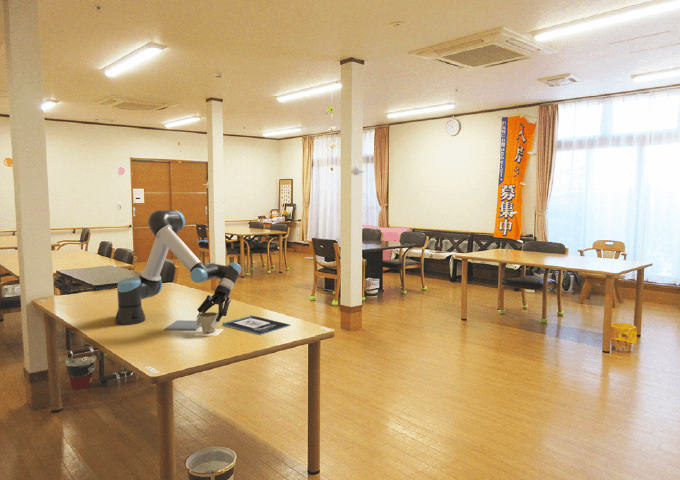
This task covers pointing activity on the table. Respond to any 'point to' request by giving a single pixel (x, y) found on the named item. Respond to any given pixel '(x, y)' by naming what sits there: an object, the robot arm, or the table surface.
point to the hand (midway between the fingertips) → (204, 325)
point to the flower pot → (207, 321)
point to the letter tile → (201, 333)
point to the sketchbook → (255, 325)
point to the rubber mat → (183, 325)
